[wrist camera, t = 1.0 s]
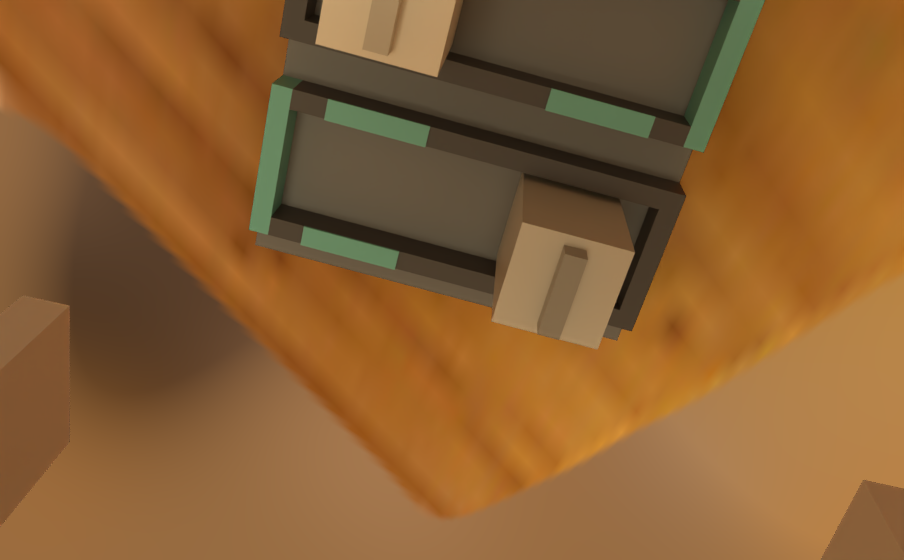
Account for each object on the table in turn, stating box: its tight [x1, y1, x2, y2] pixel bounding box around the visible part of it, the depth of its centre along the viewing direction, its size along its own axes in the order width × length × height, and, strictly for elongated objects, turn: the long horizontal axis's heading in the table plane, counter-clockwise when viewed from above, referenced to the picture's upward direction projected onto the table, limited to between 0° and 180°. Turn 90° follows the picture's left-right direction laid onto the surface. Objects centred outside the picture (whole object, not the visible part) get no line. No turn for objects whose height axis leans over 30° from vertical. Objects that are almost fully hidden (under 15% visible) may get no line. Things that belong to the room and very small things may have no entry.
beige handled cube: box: [491, 173, 635, 349], centre depth 32 cm, size 4×4×7 cm
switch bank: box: [249, 0, 765, 340], centre depth 33 cm, size 17×16×3 cm
